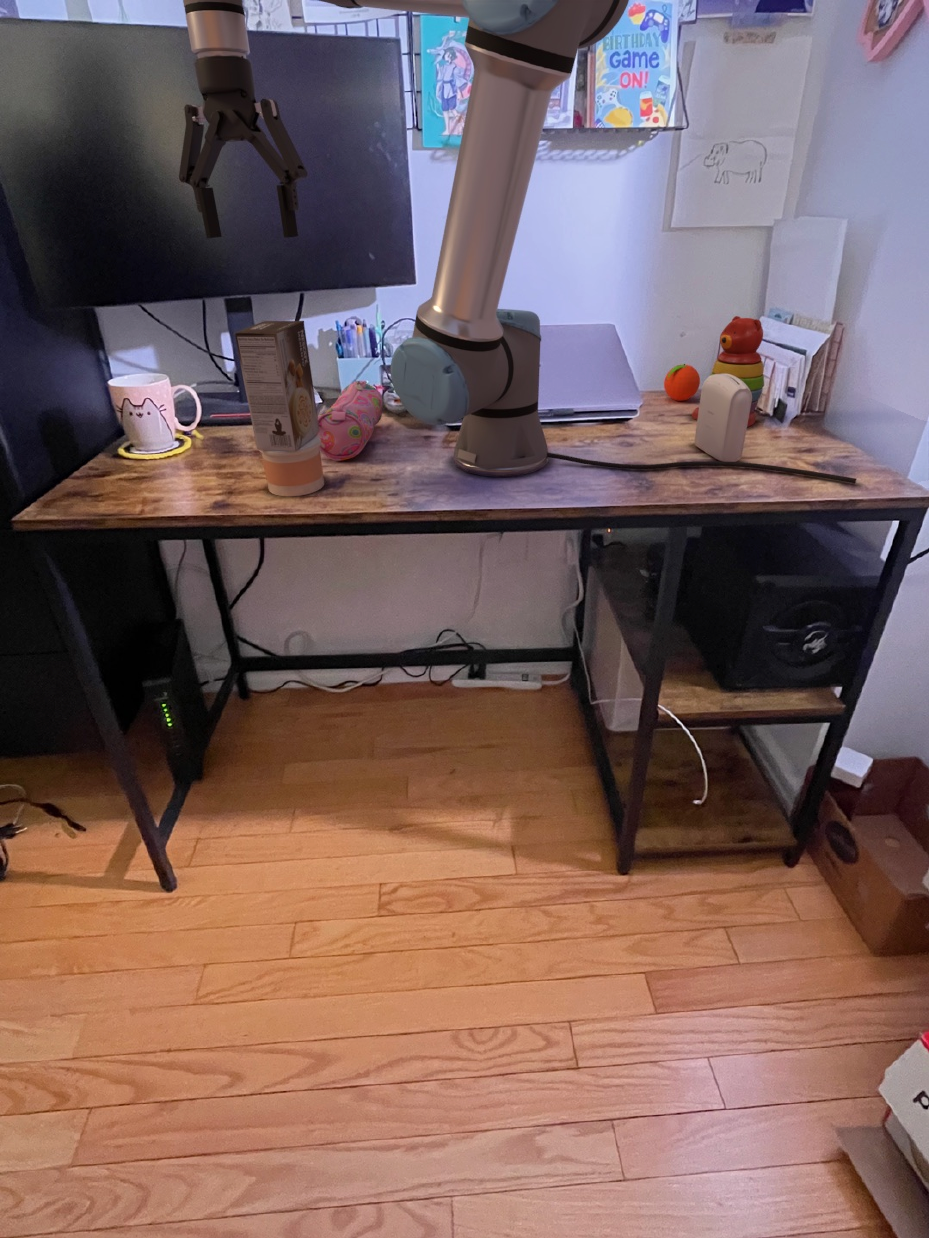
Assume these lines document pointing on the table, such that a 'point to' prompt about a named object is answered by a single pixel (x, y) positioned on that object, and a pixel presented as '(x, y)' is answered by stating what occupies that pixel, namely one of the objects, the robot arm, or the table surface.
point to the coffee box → (278, 384)
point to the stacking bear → (742, 357)
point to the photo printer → (723, 417)
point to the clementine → (681, 382)
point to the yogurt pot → (294, 469)
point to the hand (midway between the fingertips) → (252, 237)
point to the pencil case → (350, 421)
